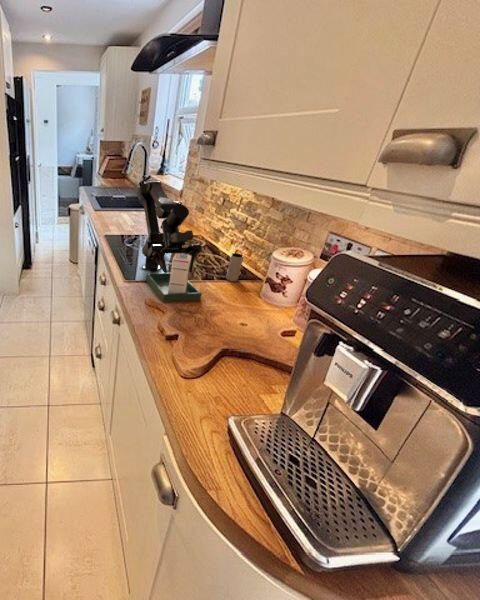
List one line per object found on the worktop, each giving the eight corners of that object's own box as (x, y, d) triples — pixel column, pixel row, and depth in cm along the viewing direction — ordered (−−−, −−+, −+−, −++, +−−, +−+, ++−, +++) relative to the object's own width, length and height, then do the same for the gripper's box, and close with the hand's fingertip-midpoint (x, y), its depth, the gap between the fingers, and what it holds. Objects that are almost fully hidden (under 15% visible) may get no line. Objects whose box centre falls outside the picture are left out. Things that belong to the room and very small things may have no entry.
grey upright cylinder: (225, 280, 131) (230, 255, 127) (226, 276, 135) (231, 252, 130) (237, 282, 130) (243, 257, 125) (238, 278, 133) (244, 254, 129)
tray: (145, 280, 130) (146, 273, 128) (177, 279, 131) (179, 272, 130) (163, 302, 112) (164, 294, 111) (200, 300, 114) (201, 293, 113)
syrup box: (183, 299, 114) (191, 259, 107) (166, 296, 116) (172, 257, 109) (185, 292, 118) (192, 254, 112) (169, 290, 120) (175, 252, 114)
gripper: (153, 222, 111) (160, 263, 106) (205, 221, 113) (214, 262, 108) (144, 238, 121) (150, 276, 117) (191, 237, 124) (199, 275, 119)
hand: (178, 272), depth 115 cm, fingers open, 9 cm apart
